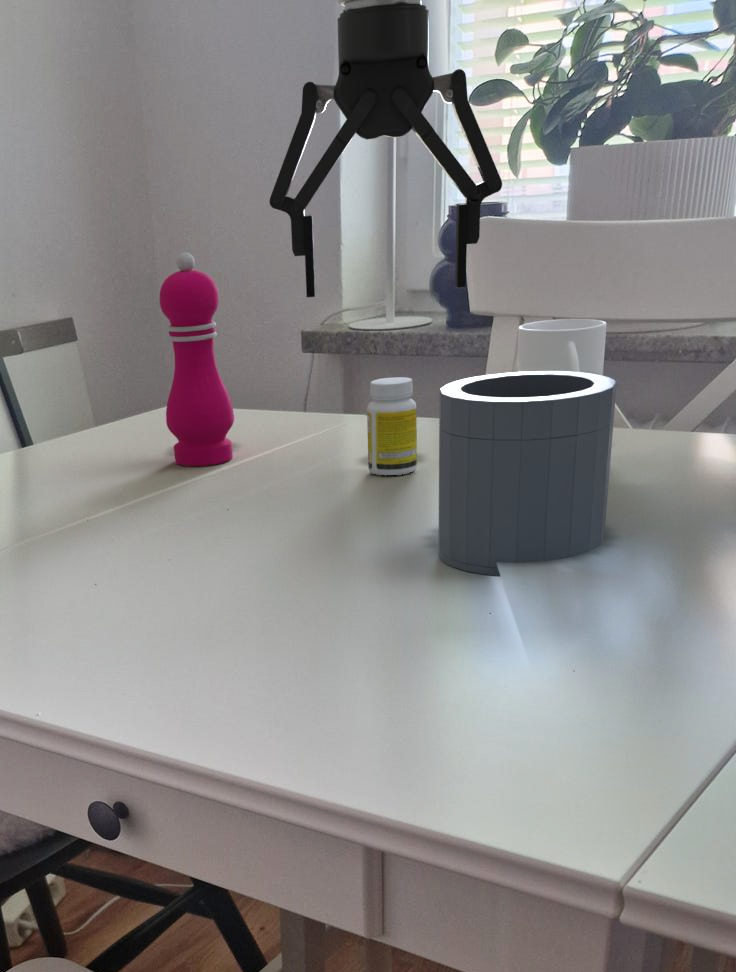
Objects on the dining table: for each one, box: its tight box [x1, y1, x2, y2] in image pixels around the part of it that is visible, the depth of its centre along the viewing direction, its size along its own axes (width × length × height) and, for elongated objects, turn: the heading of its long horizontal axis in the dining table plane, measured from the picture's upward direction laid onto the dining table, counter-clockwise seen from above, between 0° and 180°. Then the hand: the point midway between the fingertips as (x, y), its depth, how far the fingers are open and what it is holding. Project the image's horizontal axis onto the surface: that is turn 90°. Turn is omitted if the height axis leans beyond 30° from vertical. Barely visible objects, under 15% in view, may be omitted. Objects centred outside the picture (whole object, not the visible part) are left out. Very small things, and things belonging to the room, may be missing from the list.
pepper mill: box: [159, 252, 235, 467], centre depth 120 cm, size 7×7×20 cm
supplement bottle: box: [366, 376, 418, 477], centre depth 113 cm, size 5×5×8 cm
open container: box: [437, 371, 618, 577], centre depth 86 cm, size 12×12×12 cm
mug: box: [516, 318, 607, 376], centre depth 111 cm, size 12×8×12 cm
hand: (385, 291), depth 106 cm, fingers open, 13 cm apart
